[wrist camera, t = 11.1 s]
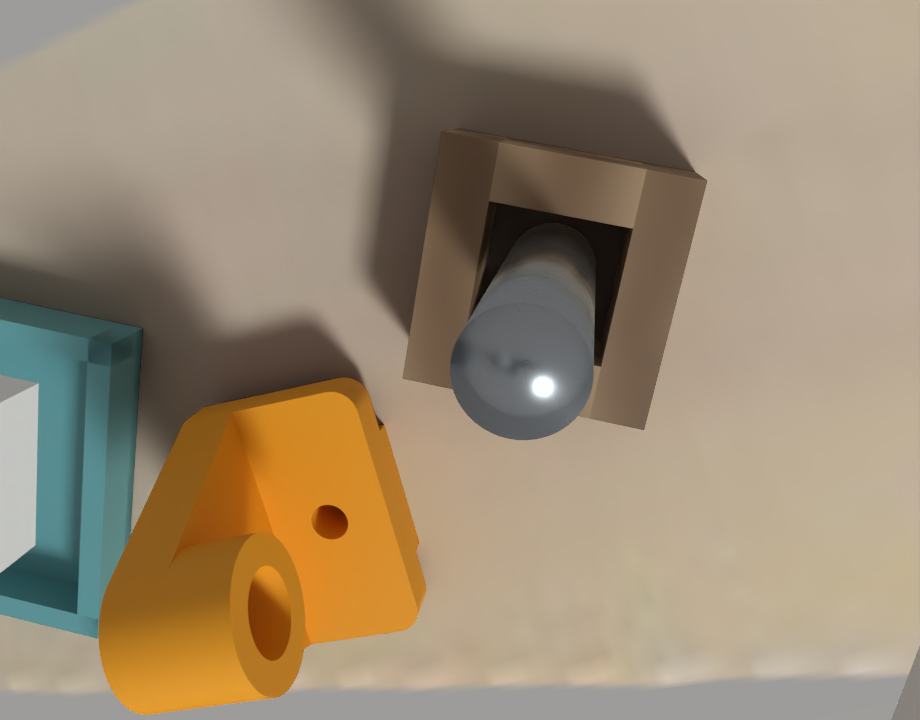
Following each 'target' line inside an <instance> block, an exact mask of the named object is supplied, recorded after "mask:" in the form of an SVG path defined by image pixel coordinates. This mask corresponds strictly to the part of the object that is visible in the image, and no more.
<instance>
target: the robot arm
mask: <svg viewBox="0 0 920 720" xmlns="http://www.w3.org/2000/svg"><path fill="white" fill-rule="evenodd" d="M38 388H39V383H35V382H30V381H26V380H21V379H17V378H12V377H7V376H3V375H0V573H1V572H2V571H3V570H5V569H6V568H7V567H9V566H10V565H11V564H12V563H14V562H15V561H16V560H17V559H19V558H20V557H21V556H22V555H24V554H25V553H26V552H28V551H29V550H30V549H31V548H33V547H34V546H35V540H36V490H37V439H38ZM892 720H920V647H919V650H918V652H917V655H916V657H915V660H914V663H913V665H912V668H911V670H910V673H909V676H908V678H907V681H906V683H905V686H904V689H903V691H902V694H901V696H900V699H899V702H898V704H897V707H896V709H895V712H894V714H893V717H892Z"/></svg>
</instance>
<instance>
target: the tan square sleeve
mask: <svg viewBox="0 0 920 720" xmlns="http://www.w3.org/2000/svg"><path fill="white" fill-rule="evenodd" d="M706 184H707V180H706V179H704V178H703V177H702V176H700V175H699V174H697V173H696V172H691V171H685V170H680V169H674V168H669V167H663V166H658V165H653V164H647V163H642V162H636V161H631V160H626V159H620V158H615V157H609V156H604V155H598V154H593V153H588V152H582V151H577V150H571V149H566V148H561V147H555V146H550V145H544V144H539V143H533V142H528V141H523V140H517V139H512V138H506V137H501V136H496V135H490V134H485V133H479V132H474V131H468V130H463V129H452V130H447V131H442V133H441V140H440V146H439V152H438V159H437V165H436V171H435V178H434V184H433V190H432V196H431V203H430V209H429V215H428V222H427V228H426V234H425V241H424V247H423V253H422V259H421V266H420V272H419V278H418V285H417V291H416V297H415V304H414V310H413V316H412V322H411V329H410V335H409V341H408V348H407V354H406V360H405V367H404V373H403V379H407V380H412V381H417V382H422V383H426V384H431V385H436V386H440V387H445V388H450V389H453V387H452V383H451V377H450V362H451V356H452V352H453V348H454V346H455V343H456V341H457V339H458V337H459V336H460V334H461V332H462V330H463V329H464V327H465V325H466V324H467V322H468V320H469V319H470V317H471V315H472V314H473V312H474V310H475V309H476V307H477V305H478V304H479V302H480V297H481V292H482V286H483V281H484V276H485V270H486V265H487V259H488V254H489V248H490V243H491V237H492V232H493V226H494V221H495V215H496V210H497V204H498V203H502V204H507V205H512V206H517V207H523V208H528V209H533V210H538V211H543V212H549V213H554V214H559V215H564V216H570V217H575V218H580V219H585V220H590V221H596V222H601V223H606V224H611V225H616V226H622V227H627V230H626V234H625V239H624V243H623V247H622V252H621V256H620V261H619V265H618V269H617V274H616V278H615V282H614V287H613V291H612V295H611V300H610V304H609V308H608V313H607V317H606V321H605V326H604V330H603V335H602V339H601V341H597V340H594V377H593V385H592V390H591V393H590V396H589V398H588V401H587V403H586V405H585V406H584V408H583V409H582V411H581V412H580V414H579V415H578V416H581V417H585V418H590V419H595V420H599V421H604V422H609V423H613V424H618V425H623V426H627V427H632V428H637V429H641V430H644V428H645V424H646V420H647V416H648V412H649V408H650V404H651V400H652V396H653V393H654V389H655V385H656V381H657V377H658V373H659V369H660V365H661V361H662V357H663V353H664V349H665V345H666V341H667V337H668V333H669V329H670V326H671V322H672V318H673V314H674V310H675V306H676V302H677V298H678V294H679V290H680V286H681V282H682V278H683V274H684V270H685V266H686V262H687V258H688V255H689V251H690V247H691V243H692V239H693V235H694V231H695V227H696V223H697V219H698V215H699V211H700V207H701V203H702V199H703V195H704V191H705V188H706Z"/></svg>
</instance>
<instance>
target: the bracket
mask: <svg viewBox="0 0 920 720" xmlns="http://www.w3.org/2000/svg"><path fill="white" fill-rule="evenodd" d="M418 544H419V540H418V536H417V533H416V530H415V526H414V523H413V519H412V516H411V513H410V509H409V506H408V503H407V499H406V496H405V493H404V489H403V486H402V482H401V479H400V476H399V472H398V469H397V466H396V462H395V459H394V456H393V452H392V449H391V445H390V442H389V439H388V435H387V432H386V429H385V425H381V426H378V423H377V420H376V416H375V413H374V410H373V406H372V403H371V400H370V396H369V394H368V392H367V390H366V388H365V387H364V386H363V385H362V384H361V383H359V382H358V381H356V380H354V379H351V378H337V379H332V380H328V381H323V382H318V383H314V384H309V385H304V386H300V387H295V388H290V389H286V390H281V391H277V392H272V393H267V394H263V395H258V396H253V397H249V398H244V399H239V400H235V401H230V402H225V403H221V404H216V405H212V406H207V407H203V408H202V409H201V410H199V411H198V412H197V413H196V414H194V415H193V416H192V417H190V418H189V419H188V420H186V421H185V422H184V423H183V425H182V428H181V430H180V432H179V434H178V436H177V438H176V440H175V442H174V445H173V447H172V449H171V451H170V453H169V455H168V457H167V460H166V462H165V464H164V466H163V468H162V470H161V472H160V474H159V477H158V479H157V481H156V483H155V485H154V487H153V489H152V492H151V494H150V496H149V498H148V500H147V502H146V504H145V506H144V509H143V511H142V513H141V515H140V517H139V519H138V521H137V523H136V526H135V528H134V530H133V532H132V534H131V536H130V538H129V541H128V543H127V545H126V547H125V549H124V551H123V553H122V555H121V558H120V560H119V562H118V564H117V566H116V568H115V570H114V573H113V575H112V577H111V579H110V581H109V583H108V586H107V588H106V591H105V594H104V597H103V601H102V605H101V610H100V617H99V648H100V656H101V661H102V665H103V669H104V672H105V675H106V678H107V681H108V683H109V685H110V687H111V689H112V691H113V692H114V694H115V695H116V697H117V698H118V700H119V701H120V702H121V703H122V704H123V705H124V706H125V707H127V708H128V709H130V710H131V711H133V712H135V713H138V714H143V715H147V714H156V713H164V712H171V711H179V710H186V709H194V708H201V707H209V706H216V705H223V704H231V703H239V702H246V701H253V700H261V699H269V698H276V697H279V696H281V695H283V694H284V693H285V692H287V691H288V689H289V688H290V687H291V686H292V684H293V682H294V680H295V679H296V676H297V674H298V671H299V668H300V665H301V661H302V657H303V651H304V648H306V647H308V646H309V645H311V644H316V643H323V642H329V641H336V640H343V639H350V638H357V637H364V636H370V635H377V634H384V633H391V632H398V631H403V630H406V629H408V628H409V627H411V626H412V625H413V624H414V622H415V621H416V619H417V616H418V613H419V610H420V607H421V604H422V602H423V599H424V596H425V593H426V584H425V580H424V577H423V573H422V570H421V567H420V563H419V560H418V557H417V553H416V549H417V547H418Z"/></svg>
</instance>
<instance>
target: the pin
mask: <svg viewBox="0 0 920 720" xmlns="http://www.w3.org/2000/svg"><path fill="white" fill-rule="evenodd" d="M595 280H596V261H595V256H594V252H593V250H592V247H591V246H590V244H589V242H588V241H587V240H586V238H585V237H584V236H583V235H582V234H581V233H579V232H578V231H577V230H575V229H573V228H572V227H569V226H567V225H563V224H559V223H545V224H541V225H537V226H535V227H532V228H531V229H529V230H527V231H526V232H525V233H523V234H522V235H521V236H520V237H519V238H518V239H517V241H516V242H515V244H514V245H513V247H512V249H511V250H510V252H509V254H508V255H507V257H506V259H505V260H504V262H503V264H502V265H501V267H500V269H499V270H498V272H497V274H496V275H495V277H494V279H493V280H492V282H491V284H490V285H489V287H488V289H487V290H486V292H485V294H484V295H483V297H482V299H481V300H480V302H479V304H478V305H477V307H476V309H475V310H474V312H473V314H472V315H471V317H470V319H469V320H468V322H467V324H466V325H465V327H464V329H463V330H462V332H461V334H460V336H459V337H458V339H457V341H456V343H455V346H454V348H453V352H452V356H451V362H450V377H451V383H452V387H453V391H454V394H455V396H456V398H457V400H458V402H459V404H460V405H461V407H462V409H463V410H464V411H465V412H466V414H467V415H468V416H469V417H470V418H471V419H472V420H473V421H474V422H475V423H477V424H478V425H479V426H481V427H482V428H484V429H485V430H487V431H489V432H491V433H493V434H496V435H498V436H501V437H505V438H509V439H515V440H532V439H538V438H543V437H546V436H549V435H552V434H554V433H556V432H558V431H560V430H562V429H563V428H565V427H566V426H567V425H569V424H570V423H571V422H572V421H573V420H574V419H575V418H576V417H577V416H578V415H579V414H580V412H581V411H582V409H583V408H584V406H585V405H586V403H587V401H588V398H589V396H590V393H591V390H592V385H593V377H594V328H595Z"/></svg>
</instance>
